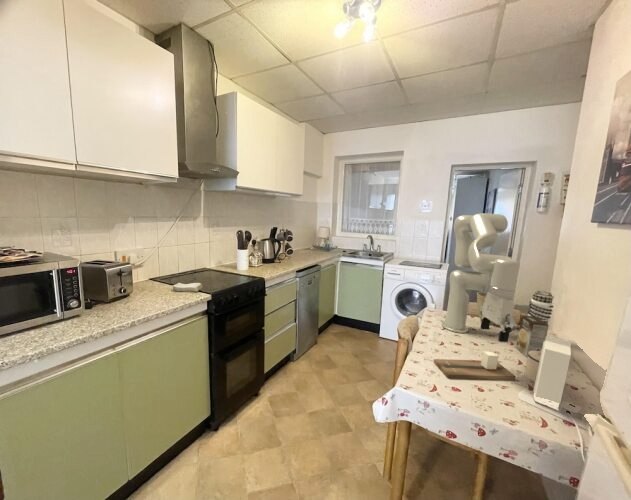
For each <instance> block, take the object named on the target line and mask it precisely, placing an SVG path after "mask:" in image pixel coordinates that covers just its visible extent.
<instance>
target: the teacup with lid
mask: <svg viewBox="0 0 631 500" xmlns="http://www.w3.org/2000/svg"><path fill="white" fill-rule="evenodd" d="M541 351H542V350H541ZM541 351H529V352H528V357H526V358H527V360H526V364H525V369H524V376H525V377H526V378H527V379H528V380H529V381H531V382H533V383H535V381H536V376H537V371H538V366H539V361H540V356H541Z"/></svg>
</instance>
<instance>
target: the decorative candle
mask: <svg viewBox="0 0 631 500" xmlns="http://www.w3.org/2000/svg"><path fill="white" fill-rule="evenodd" d="M554 298H555V296H553V295H552V293H551V292H548V291H545V290H536V291H533V292H532V298H531V300H530V301H529V302H528V303H529V304H528V312H527V316H532V317H537V318H539V319H540V320H542V321H543V322H545V323H546V324H548V325H549V321H551V320H550V319H551V316H550V315H552V312H553V309H552V308H554V305H553V301H554V300H553V299H554Z"/></svg>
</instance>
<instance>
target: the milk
mask: <svg viewBox="0 0 631 500" xmlns="http://www.w3.org/2000/svg"><path fill="white" fill-rule="evenodd" d="M571 346H572V342H571V341H569V340H565V339H561V338H556V337H553V336H548V335H546V339H545V341H544V342H543V347H542V351H541V356H540V361H539V366H538V371H537V376H536V381H535V382H534V387H533V392H534V393H535V396H536V397H540V398H544V399H548V400H551V401H554V402H557V403H559V404H560V405H561V401H562V397H563V392H564V388H565V383H566V379H567V375H568V371H569V370H568V369H569V365H570V361H571V356H572V351H571ZM533 392H532V393H533Z"/></svg>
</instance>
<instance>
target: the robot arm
mask: <svg viewBox="0 0 631 500" xmlns="http://www.w3.org/2000/svg"><path fill="white" fill-rule="evenodd" d="M508 224H509V222H508V219H507V217H506V216H505V215H504V214H499V213H485V212H484V213H483V212H482V213H475V214H473V215H472V214H469V215H468V214H467V215H466V214H463V215H462V214H461V215H459V216H457V217H456V218H455V220H454V223H453V231H454V236H455V250H454V265H455V266H456V267H459V268H464V269H471V270H464V269H455V270H453V271H451V272H450V274H449V294H448V302H447V306H446V307H447V308H446V314H445V315H444V316H443V318H444V321H442V322H441V326H442V328H444V329H445V330H448V331H450V332H453V333H457V334H458V333H459V334H466V333H469V328H468V327H467V326H466V323H467V316H468V313H469V312H468V311H469V306H470V305H469V304H470V295H469V294H468V293H467V291H466V290H471V291H472V290H473V291H474V290H475V291H485V290H486V289H487V288H488V286H489V279H490V286H489V290H488V293H487V295H486V297H485V300H484V304H483V305H481V306H480V309H481V315H482V316H481V318H482V322H481V321H480V329H481V330H490V321H492V322H494V323H495V325H499V326H500V329H501V330H500V331H499V336H498V342H500V343H508V342H509V338H510V334H511V333H512V332H514V331H515V329H516V328H517V327H518V324H517V322H516V321H515V320H514V309H515V308H514V307H515V300H514V297H515V296H514V295H515V291H516V288H517V287H516V286H517V282H518V276H519V270H520V263H519V261H517V260H515V259H512V258H511V257H510V256H506V255H500V254H499V255H498V254H490V253H488V252H486V251H483V250H484V249H487V248H490V247H492V246H495V244H497V243H498V241H499V239H500V238H499V237H500V236H499V234H503V233H504V232H505V231H506V230H507V229H508ZM471 233H472V234H473V235H472V234H471ZM490 274H491V278H490Z"/></svg>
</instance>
